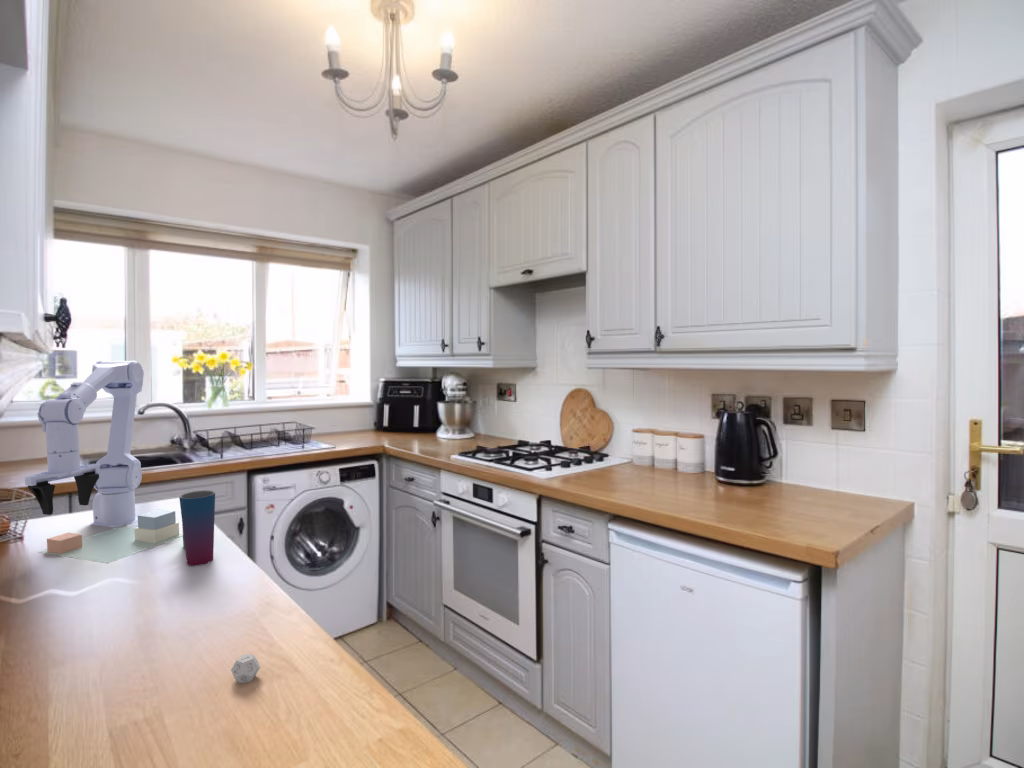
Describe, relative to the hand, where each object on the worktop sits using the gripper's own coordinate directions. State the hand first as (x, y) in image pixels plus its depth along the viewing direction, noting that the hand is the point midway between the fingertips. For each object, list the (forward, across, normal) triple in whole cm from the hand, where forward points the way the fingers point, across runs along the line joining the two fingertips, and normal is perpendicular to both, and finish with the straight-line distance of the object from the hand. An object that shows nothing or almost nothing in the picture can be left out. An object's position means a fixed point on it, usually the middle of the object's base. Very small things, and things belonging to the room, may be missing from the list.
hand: (66, 509), depth 124 cm
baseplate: (+10, +6, -6) cm, 13 cm away
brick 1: (+9, 0, 0) cm, 9 cm away
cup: (+10, +4, -34) cm, 36 cm away
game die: (+10, -27, -77) cm, 83 cm away
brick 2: (+6, +12, -13) cm, 19 cm away
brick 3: (+9, +12, -13) cm, 20 cm away
